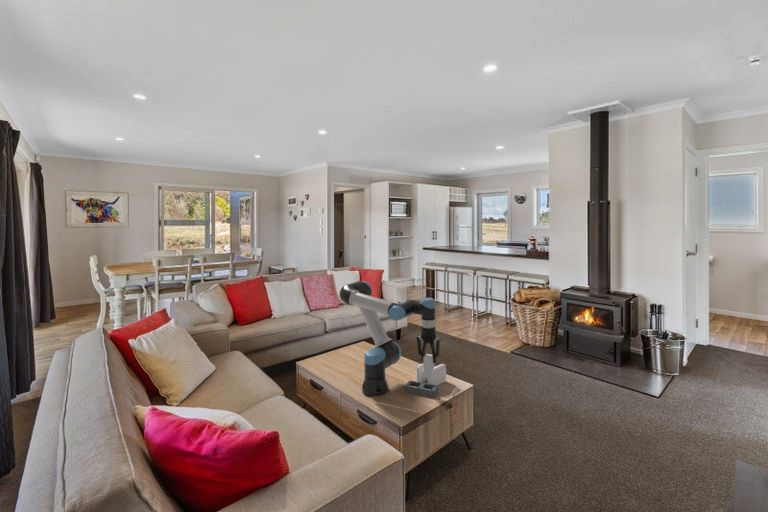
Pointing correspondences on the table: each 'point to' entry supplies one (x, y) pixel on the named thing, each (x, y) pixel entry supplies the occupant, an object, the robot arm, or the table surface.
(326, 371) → the table surface
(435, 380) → the cable organizer
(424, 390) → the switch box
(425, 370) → the plug
